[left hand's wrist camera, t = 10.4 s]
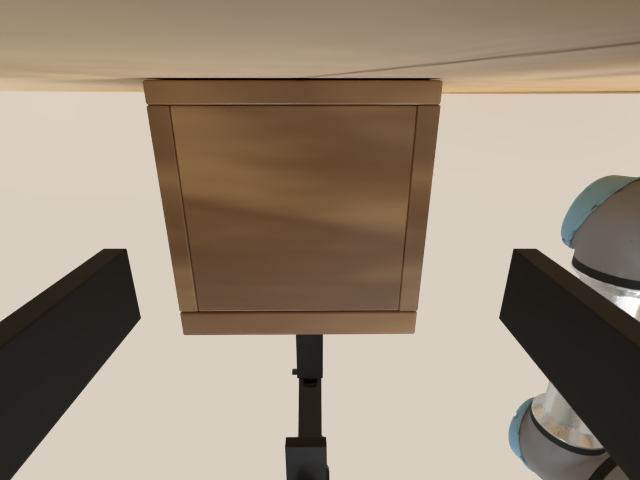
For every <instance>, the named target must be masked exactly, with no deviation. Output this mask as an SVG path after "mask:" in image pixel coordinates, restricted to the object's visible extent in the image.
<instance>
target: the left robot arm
mask: <svg viewBox="0 0 640 480" xmlns="http://www.w3.org/2000/svg"><path fill="white" fill-rule="evenodd" d="M140 319H141V317H140V312H139V307H138V302H137V297H136V293H135V288H134V283H133V278H132V273H131V269H130V264H129V259H128V254H127V250H126V249H103V250H101V251H100V252H99V253H97V254H96V255H94V256H93V257H91V258H90V259H89V260H87V261H86V262H84V263H83V264H82V265H80V266H79V267H77V268H76V269H75V270H73V271H72V272H70V273H69V274H67V275H66V276H65V277H63V278H62V279H60V280H59V281H57V282H56V283H55V284H53V285H52V286H50V287H49V288H47V289H46V290H45V291H43V292H42V293H40V294H39V295H38V296H36V297H35V298H33V299H32V300H30V301H29V302H28V303H26V304H25V305H23V306H22V307H21V308H19V309H18V310H16V311H15V312H13V313H12V314H11V315H9V316H8V317H6V318H5V319H4V320H2V321H1V322H0V480H11V478H12V477H13V476H14V475H15V473H16V472H17V471H18V470H19V468H20V467H21V466H22V465H23V464H24V462H25V461H26V460H27V459H28V457H29V456H30V455H31V454H32V452H33V451H34V450H35V449H36V447H37V446H38V445H39V444H40V442H41V441H42V440H43V439H44V438H45V436H46V435H47V434H48V433H49V431H50V430H51V429H52V428H53V426H54V425H55V424H56V423H57V421H58V420H59V419H60V418H61V416H62V415H63V414H64V413H65V411H66V410H67V409H68V408H69V407H70V405H71V404H72V403H73V402H74V400H75V399H76V398H77V397H78V395H79V394H80V393H81V392H82V390H83V389H84V388H85V387H86V386H87V384H88V383H89V382H90V381H91V379H92V378H93V377H94V376H95V374H96V373H97V372H98V371H99V369H100V368H101V367H102V366H103V364H104V363H105V362H106V361H107V360H108V358H109V357H110V356H111V355H112V353H113V352H114V351H115V350H116V348H117V347H118V346H119V345H120V343H121V342H122V341H123V340H124V338H125V337H126V336H127V335H128V334H129V332H130V331H131V330H132V329H133V327H134V326H135V325H136V324H137V322H138V321H139V320H140ZM499 319H500V320H501V321H502V322H503V324H504V325H505V326H506V327H507V329H508V330H509V331H510V332H511V334H512V335H513V336H514V337H515V338H516V340H517V341H518V342H519V343H520V345H521V346H522V347H523V348H524V350H525V351H526V352H527V353H528V355H529V356H530V357H531V358H532V360H533V361H534V362H535V363H536V364H537V366H538V367H539V368H540V369H541V371H542V372H543V373H544V374H545V376H546V377H547V378H548V379H549V381H550V382H551V383H552V384H553V386H554V387H555V388H556V389H557V390H558V392H559V393H560V394H561V395H562V397H563V398H564V399H565V400H566V402H567V403H568V404H569V405H570V407H571V408H572V409H573V410H574V412H575V413H576V414H577V415H578V416H579V418H580V419H581V420H582V421H583V423H584V424H585V425H586V426H587V428H588V429H589V430H590V431H591V433H592V434H593V435H594V436H595V438H596V439H597V440H598V441H599V442H600V444H601V445H602V446H603V447H604V449H605V450H606V451H607V452H608V454H609V455H610V456H611V457H612V459H613V460H614V461H615V462H616V464H617V465H618V466H619V467H620V468H621V470H622V471H623V472H624V473H625V475H626V476H627V477H628V478H629V480H640V322H639V321H638V320H637V319H635V318H634V317H632V316H631V315H629V314H628V313H627V312H625V311H624V310H622V309H621V308H619V307H618V306H617V305H615V304H614V303H612V302H611V301H610V300H608V299H607V298H605V297H604V296H602V295H601V294H600V293H598V292H597V291H595V290H594V289H593V288H591V287H590V286H588V285H587V284H585V283H584V282H583V281H581V280H580V279H578V278H577V277H576V276H574V275H573V274H571V273H570V272H568V271H567V270H566V269H564V268H563V267H561V266H560V265H558V264H557V263H556V262H554V261H553V260H551V259H550V258H549V257H547V256H546V255H544V254H543V253H541V252H540V251H539V250H537V249H514V250H513V254H512V259H511V264H510V269H509V273H508V278H507V283H506V288H505V293H504V297H503V302H502V307H501V312H500V317H499Z"/></svg>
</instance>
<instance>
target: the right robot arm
mask: <svg viewBox="0 0 640 480" xmlns="http://www.w3.org/2000/svg"><path fill="white" fill-rule="evenodd" d="M561 236H562V240H563V242H564V244H566V245H567V246H568V247H569V248H572V249H575V252H574V256H573V259H572V263H571V265H572V268H573V269H574V270H575V271H576V273H577V274H578V275H579V276H580V280H581V281H583V282H584V283H585V284H587V285H588V286H590V287H591V288H593V289H594V290H595V291H597V292H598V293H600V294H601V295H602V296H604V297H605V298H607V299H608V300H610V301H611V302H612V303H614V304H615V305H617V306H618V307H619V308H621V309H622V310H624V311H625V312H627V313H628V314H629V315H631V316H632V317H634V318H635V319H637V320H638V321H639V322H640V177H627V176H618V175H611V176H606V177H603V178H600V179H598V180H596V181H595V182H593V183H592V184H590V185H589V186H588V187H587V188H585V190H584V191H583V192H582V193H581V194H579V196H578V197H577V198H576V199H575V201H574V202H573V203H572V205H571V207H570V208H569V210H568V212H567V214H566V216H565V218H564V221H563V224H562V229H561ZM296 348H297V369H293V370H292V374H293V375H297V378H299V433H298V437H286V444H285V453H286V474H287V480H329V467H328V465H327V453H326V452H327V451H326V437H323V436H322V432H321V431H322V430H321V378H322V377H323V334H296ZM509 443H510V446H511V449H512V450H513V452H514V453H515V454H516V455H517V456H518V457H519V458H520V459H521V460H522V461H523V463H524V464H525V465H526V467H527V468H528V469H530V470H531V471H533V472H535V473H536V474H537V475H538V476H539V477H540V478H541V479H542V480H629V478H628V477H627V476H626V475H625V473H624V472H623V471H622V470H621V468H620V467H619V466H618V465H617V464H616V462H615V461H614V460H613V459H612V457H611V456H610V455H609V454H608V452H607V451H606V450H605V449H604V447H603V446H602V445H601V444H600V442H599V441H598V440H597V439H596V438H595V436H594V435H593V434H592V433H591V431H590V430H589V429H588V428H587V426H586V425H585V424H584V423H583V421H582V420H581V419H580V418H579V416H578V415H577V414H576V413H575V412H574V410H573V409H572V408H571V407H570V405H569V404H568V403H567V402H566V400H565V399H564V398H563V397H562V395H561V394H560V393H559V392H558V390H557V389H556V388H555V387H554V386H553V384H552V383H551V382H550V381H549V384H548V388H547V391H546V393H543V394H540V395H538V396H536V397H533V398H530V399H528V400H527V401H525V402H524V403H523V404H522V405H521V406H520V407H519V409H518V410H517V414H516V416H515V417H513V419H512V421H511V424H510V428H509Z"/></svg>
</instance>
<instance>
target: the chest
mask: <svg viewBox="0 0 640 480" xmlns="http://www.w3.org/2000/svg"><path fill="white" fill-rule="evenodd" d="M143 86H144V92H145V98H146V103H147V104H148V106H147V112H148V118H149V124H150V130H151V137H152V143H153V149H154V155H155V161H156V168H157V174H158V180H159V186H160V192H161V198H162V204H163V211H164V217H165V223H166V229H167V235H168V241H169V248H170V254H171V260H172V266H173V272H174V279H175V285H176V291H177V297H178V303H179V309H180V311H198V310H199V311H347V310H398V309H399V310H400V311H417V309H418V300H419V291H420V282H421V273H422V264H423V255H424V247H425V238H426V229H427V220H428V211H429V202H430V194H431V185H432V176H433V167H434V158H435V149H436V140H437V131H438V123H439V114H440V105H439V104H440V101H441V92H442V81H440V80H145V81H143Z"/></svg>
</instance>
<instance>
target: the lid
mask: <svg viewBox="0 0 640 480" xmlns="http://www.w3.org/2000/svg"><path fill="white" fill-rule="evenodd" d="M416 315H417V312H416V311H400V310H399V309H398V310H347V311H199V310H198V311H182V312H181V321H182V327H183V333H184V335H284V334H413V333H414V332H415V323H416Z"/></svg>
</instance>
